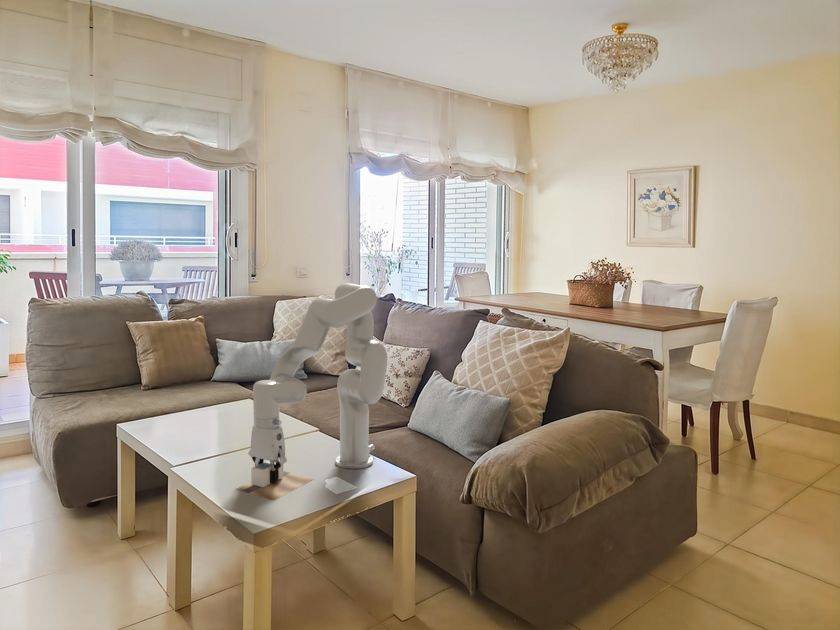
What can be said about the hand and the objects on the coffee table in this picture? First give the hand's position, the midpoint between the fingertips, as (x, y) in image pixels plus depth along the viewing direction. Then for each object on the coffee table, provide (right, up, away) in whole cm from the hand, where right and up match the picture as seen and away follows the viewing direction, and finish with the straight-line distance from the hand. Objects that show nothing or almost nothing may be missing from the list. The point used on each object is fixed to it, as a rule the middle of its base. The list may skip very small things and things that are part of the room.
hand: (267, 479), depth 187 cm
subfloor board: (+3, -2, -1) cm, 4 cm away
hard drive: (+21, -3, -1) cm, 21 cm away
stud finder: (0, 0, 0) cm, 0 cm away
